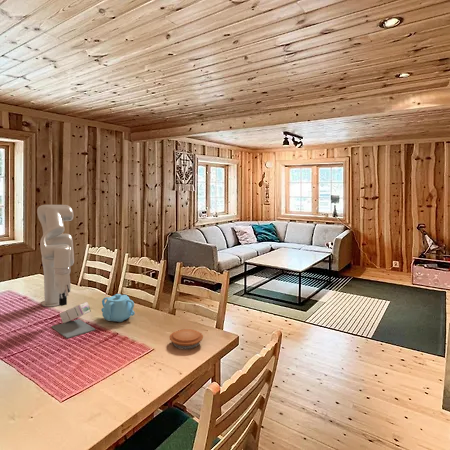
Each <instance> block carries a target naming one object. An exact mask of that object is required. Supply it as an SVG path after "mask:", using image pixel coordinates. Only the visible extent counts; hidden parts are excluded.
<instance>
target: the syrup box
mask: <svg viewBox="0 0 450 450" xmlns="http://www.w3.org/2000/svg"><path fill="white" fill-rule="evenodd" d="M91 310H92V309H91V308H90V304H89V303H88V301H85V302H83V303H80V304H78V305H76V306H73V307H71V308H69V309H67V310H65V311H62V312H60V313H59V317H60V319H61V322H62V324H63V323H66V322H70V321H74V320H76V319H77V318H78V319H79V318H80V317H82V316H84V315H86V314H88V313H90V312H91Z"/></svg>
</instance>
